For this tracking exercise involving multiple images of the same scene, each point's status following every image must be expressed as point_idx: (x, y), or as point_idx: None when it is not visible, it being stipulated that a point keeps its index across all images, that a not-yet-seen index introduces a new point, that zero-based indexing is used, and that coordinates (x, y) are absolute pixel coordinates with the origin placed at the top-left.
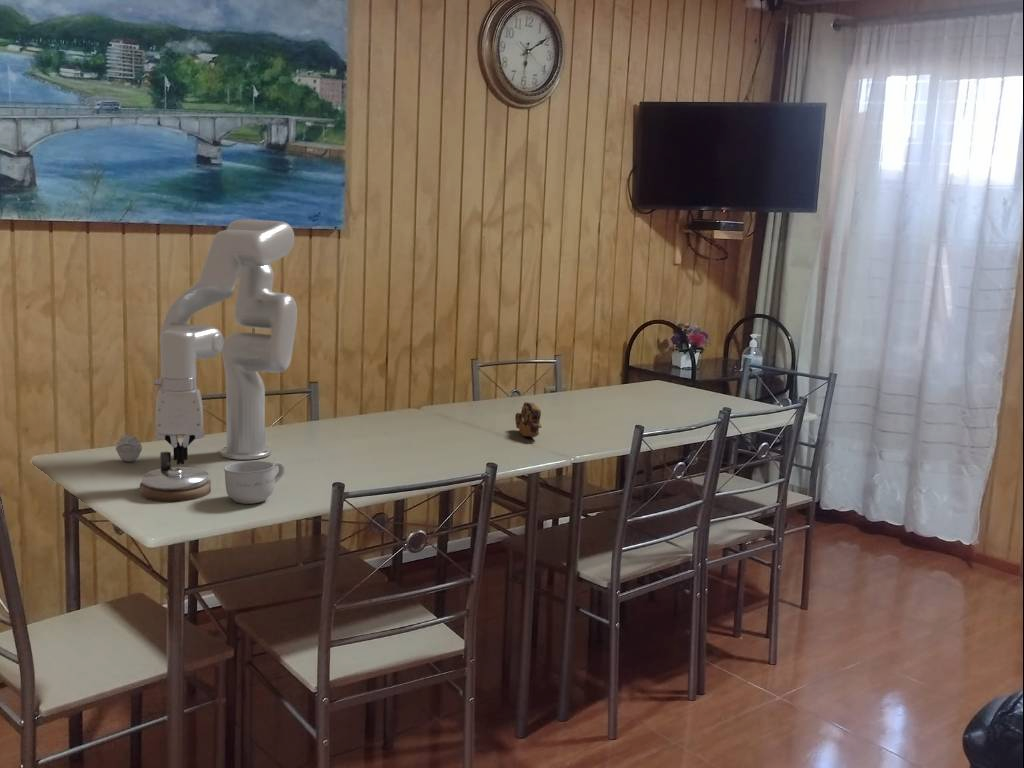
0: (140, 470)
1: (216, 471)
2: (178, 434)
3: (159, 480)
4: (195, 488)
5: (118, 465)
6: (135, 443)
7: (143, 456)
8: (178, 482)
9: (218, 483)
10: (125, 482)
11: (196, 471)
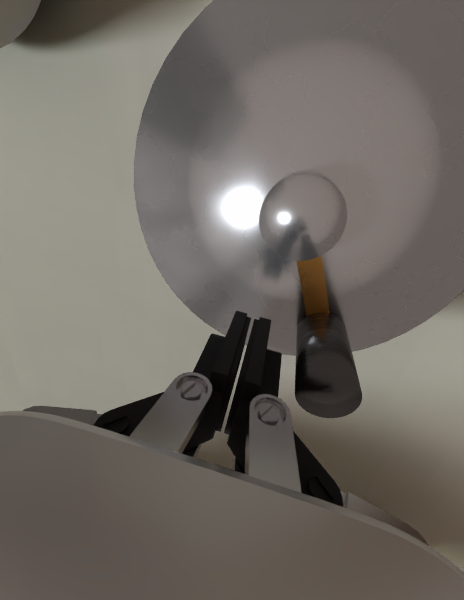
0: (345, 461)
1: (144, 377)
2: (219, 471)
3: (435, 113)
4: None
5: (386, 512)
6: None
7: None
8: (326, 2)
9: (136, 260)
10: (442, 383)
11: (188, 253)
